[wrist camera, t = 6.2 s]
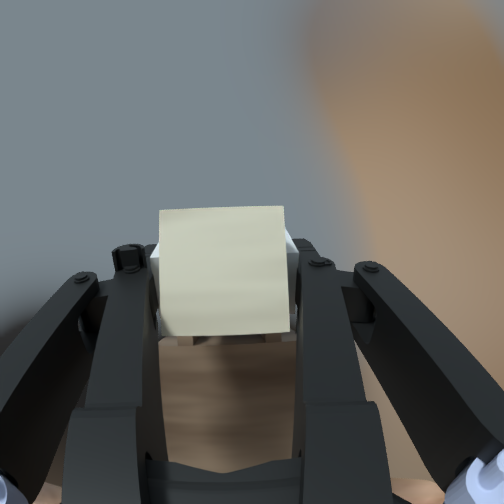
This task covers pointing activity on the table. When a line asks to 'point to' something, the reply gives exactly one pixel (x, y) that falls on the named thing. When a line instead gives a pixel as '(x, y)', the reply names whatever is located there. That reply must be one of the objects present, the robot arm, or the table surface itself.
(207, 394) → the walnut stand
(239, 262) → the ash bar
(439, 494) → the table surface
